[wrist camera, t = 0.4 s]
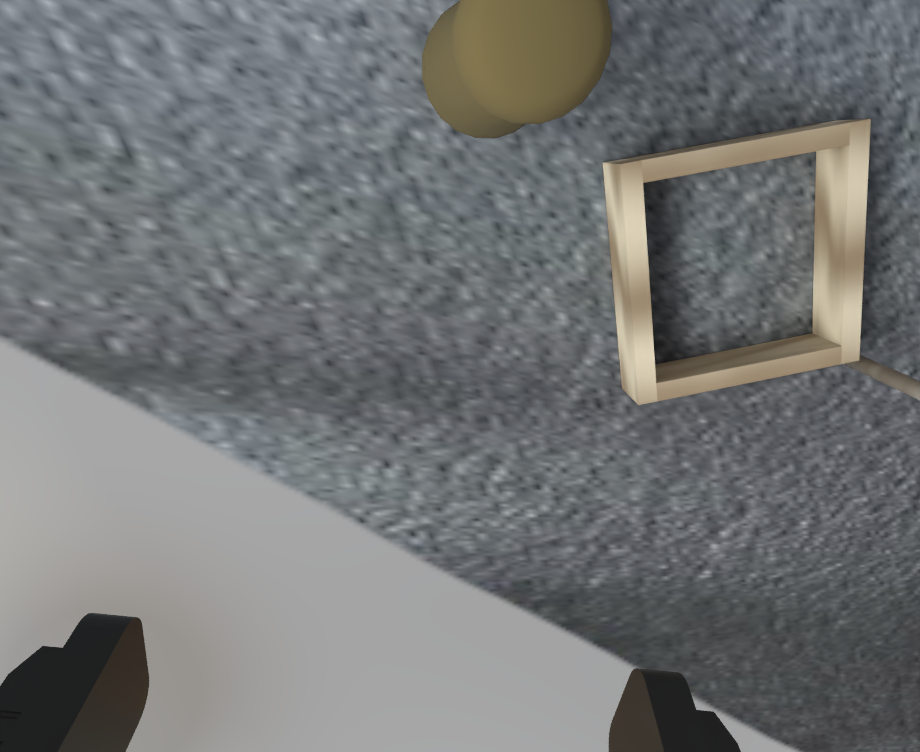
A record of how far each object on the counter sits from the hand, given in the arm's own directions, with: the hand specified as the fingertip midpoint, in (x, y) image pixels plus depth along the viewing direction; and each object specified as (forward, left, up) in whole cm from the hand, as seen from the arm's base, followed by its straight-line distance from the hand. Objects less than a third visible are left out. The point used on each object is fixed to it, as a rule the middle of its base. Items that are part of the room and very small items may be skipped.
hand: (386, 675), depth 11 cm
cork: (-10, +7, -25) cm, 28 cm away
